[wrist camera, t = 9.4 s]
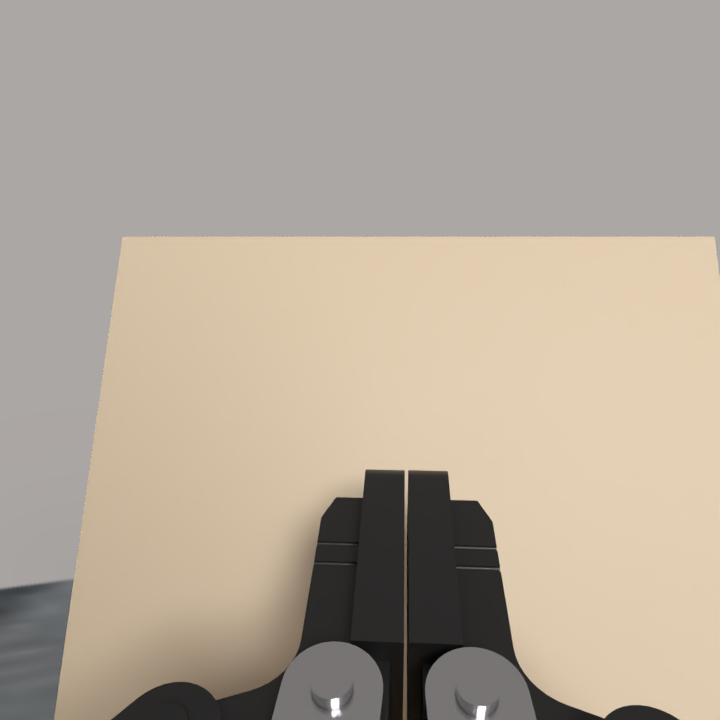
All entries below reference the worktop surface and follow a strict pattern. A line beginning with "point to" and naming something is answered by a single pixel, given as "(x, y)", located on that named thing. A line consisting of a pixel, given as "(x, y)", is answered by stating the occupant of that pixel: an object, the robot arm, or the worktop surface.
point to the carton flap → (405, 452)
